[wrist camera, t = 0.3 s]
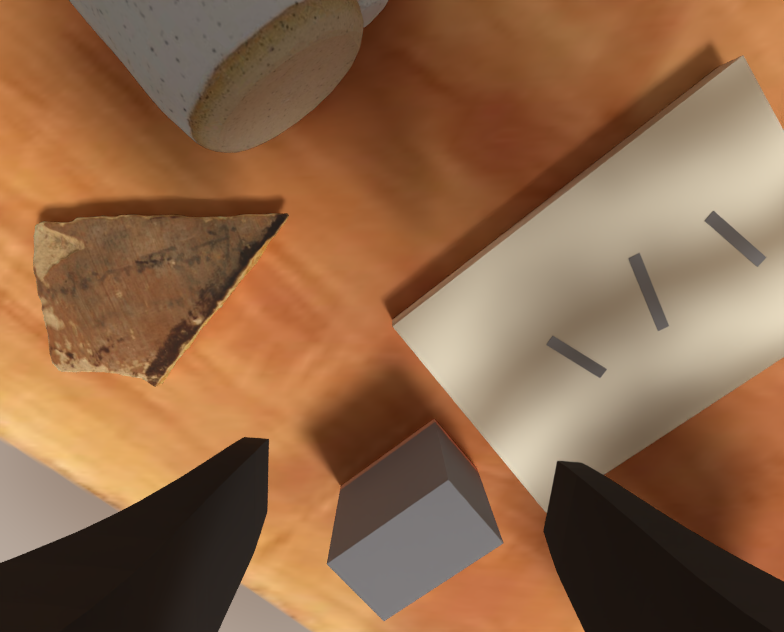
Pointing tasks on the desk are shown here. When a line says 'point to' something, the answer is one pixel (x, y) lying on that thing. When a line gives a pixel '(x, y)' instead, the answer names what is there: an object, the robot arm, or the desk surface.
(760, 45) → the desk surface
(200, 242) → the shard
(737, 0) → the desk surface
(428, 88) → the desk surface
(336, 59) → the ceramic mug
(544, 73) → the desk surface
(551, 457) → the cream flat board
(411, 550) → the block
